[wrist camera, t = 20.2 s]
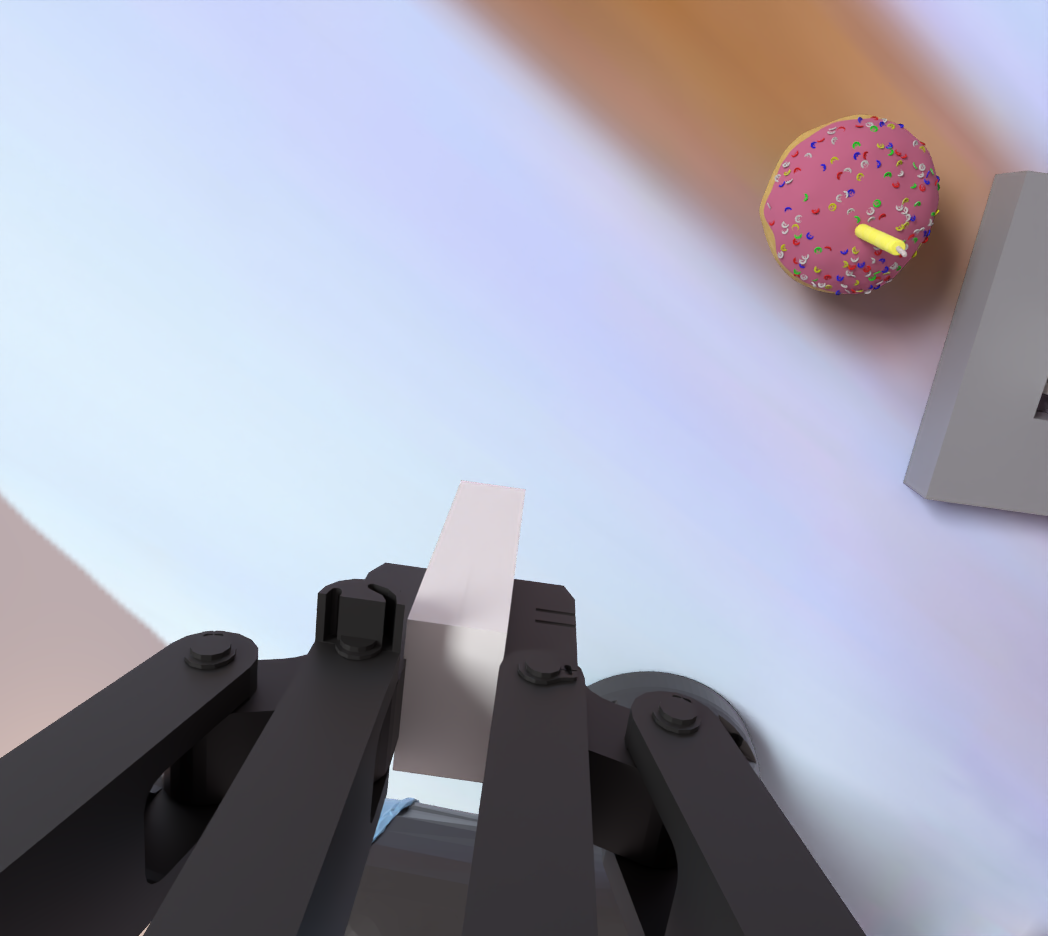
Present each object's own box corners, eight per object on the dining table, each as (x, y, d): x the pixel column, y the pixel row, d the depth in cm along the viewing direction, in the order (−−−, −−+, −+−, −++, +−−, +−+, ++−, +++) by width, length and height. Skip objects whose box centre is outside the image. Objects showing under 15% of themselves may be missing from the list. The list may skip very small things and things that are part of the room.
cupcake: (885, 287, 44) (1000, 308, 33) (736, 288, 44) (797, 308, 33) (907, 125, 41) (1040, 85, 30) (748, 126, 42) (820, 88, 30)
